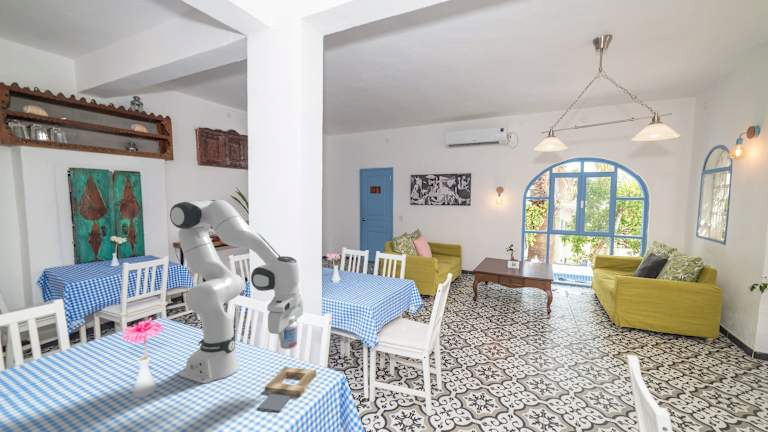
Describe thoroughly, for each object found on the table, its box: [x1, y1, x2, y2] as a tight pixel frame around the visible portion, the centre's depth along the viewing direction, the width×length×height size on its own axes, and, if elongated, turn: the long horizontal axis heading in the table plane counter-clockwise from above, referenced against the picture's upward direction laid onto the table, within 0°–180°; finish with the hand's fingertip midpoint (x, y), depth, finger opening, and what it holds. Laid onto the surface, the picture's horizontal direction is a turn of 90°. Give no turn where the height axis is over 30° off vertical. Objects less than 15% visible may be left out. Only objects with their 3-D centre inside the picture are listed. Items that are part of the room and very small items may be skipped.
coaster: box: [257, 393, 292, 413], centre depth 108 cm, size 8×8×1 cm
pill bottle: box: [279, 316, 298, 350], centre depth 119 cm, size 6×6×11 cm
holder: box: [264, 366, 317, 397], centre depth 120 cm, size 14×14×2 cm
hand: (287, 335), depth 119 cm, fingers closed on pill bottle, 6 cm apart
